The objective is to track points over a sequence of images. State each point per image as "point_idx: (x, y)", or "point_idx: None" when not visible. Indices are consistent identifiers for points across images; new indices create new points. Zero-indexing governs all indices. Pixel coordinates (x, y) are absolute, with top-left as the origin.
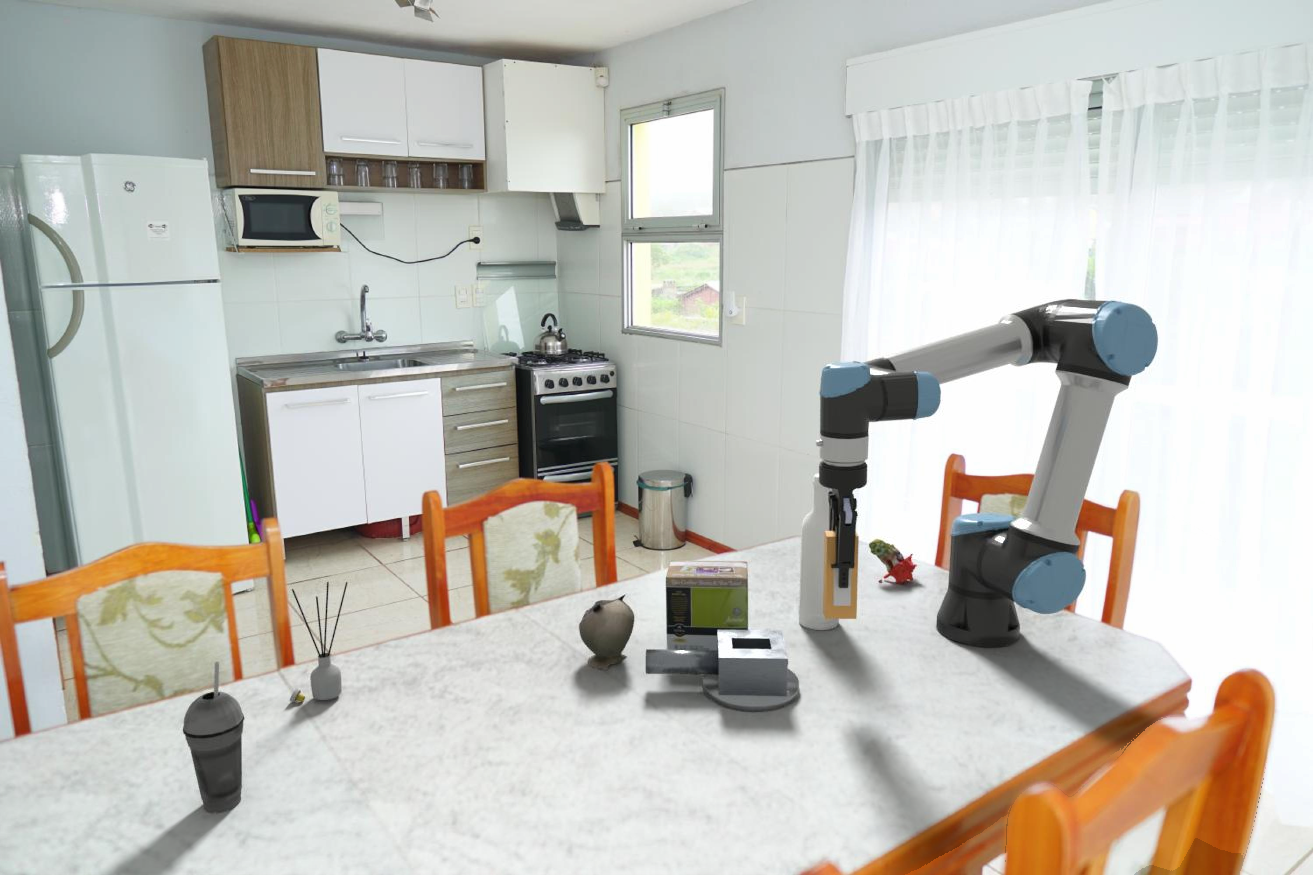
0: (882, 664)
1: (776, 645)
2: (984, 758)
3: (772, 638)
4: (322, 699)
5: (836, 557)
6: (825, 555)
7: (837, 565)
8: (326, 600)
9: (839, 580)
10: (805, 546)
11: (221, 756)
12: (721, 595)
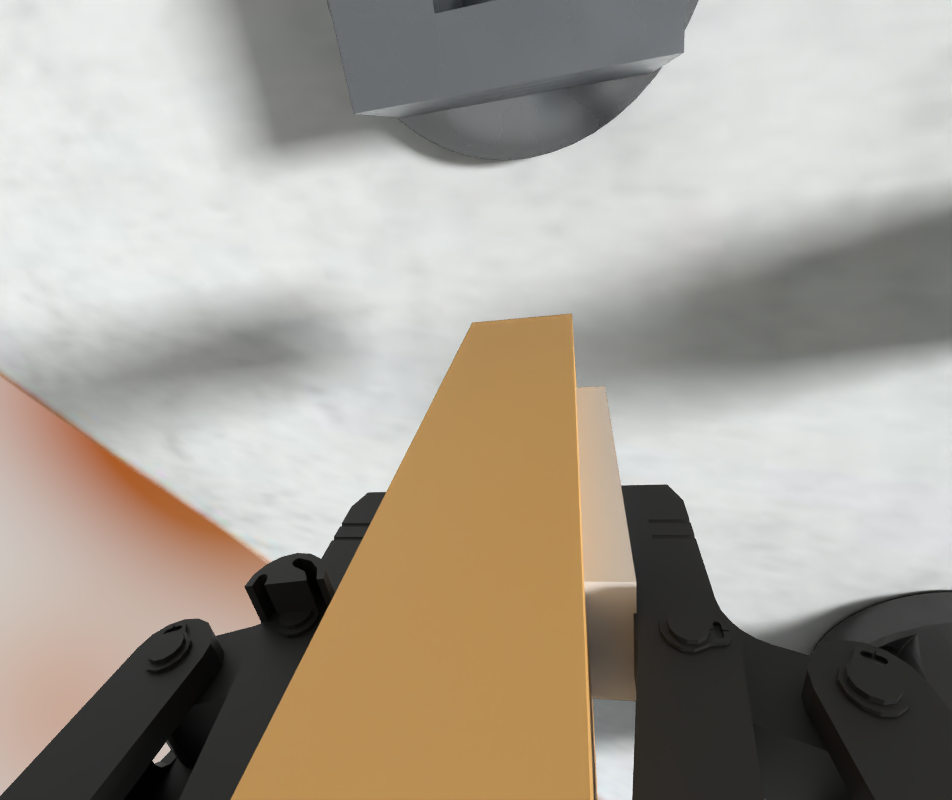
0: (719, 423)
1: (483, 38)
2: (304, 535)
3: (571, 3)
4: None
5: (241, 697)
6: (436, 591)
7: (152, 642)
8: None
9: (344, 531)
10: None
11: None
12: None
